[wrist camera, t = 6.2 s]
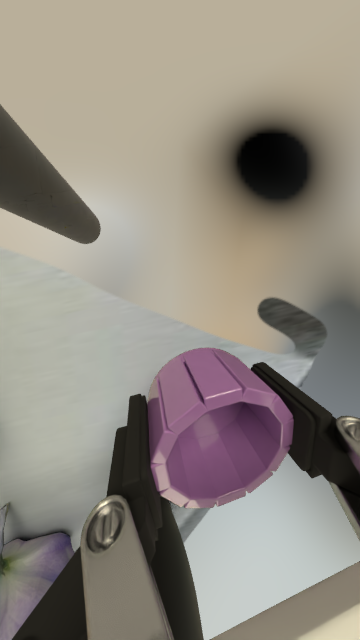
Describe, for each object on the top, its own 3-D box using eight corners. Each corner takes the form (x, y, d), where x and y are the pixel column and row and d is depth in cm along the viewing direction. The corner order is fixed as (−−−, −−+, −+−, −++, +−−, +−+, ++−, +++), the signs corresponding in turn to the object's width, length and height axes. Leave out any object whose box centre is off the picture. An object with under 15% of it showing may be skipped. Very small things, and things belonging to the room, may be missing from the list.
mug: (62, 516, 18) (-20, 760, 9) (175, 476, 20) (201, 648, 11) (87, 559, 20) (43, 785, 11) (186, 520, 22) (215, 691, 13)
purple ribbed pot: (137, 361, 9) (135, 418, 6) (244, 336, 10) (299, 372, 6) (158, 446, 11) (166, 527, 7) (246, 418, 12) (290, 479, 8)
